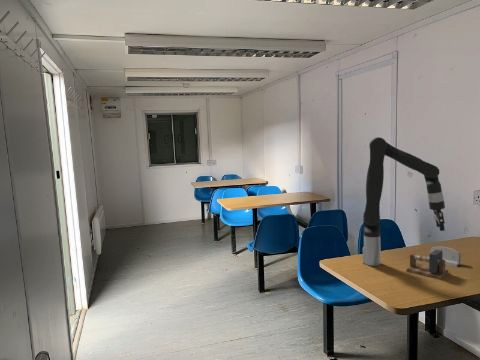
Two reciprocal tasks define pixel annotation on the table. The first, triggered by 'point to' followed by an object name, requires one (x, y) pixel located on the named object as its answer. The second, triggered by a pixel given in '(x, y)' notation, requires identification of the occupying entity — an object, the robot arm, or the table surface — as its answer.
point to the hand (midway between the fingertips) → (440, 228)
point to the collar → (434, 261)
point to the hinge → (449, 255)
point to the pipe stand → (426, 267)
